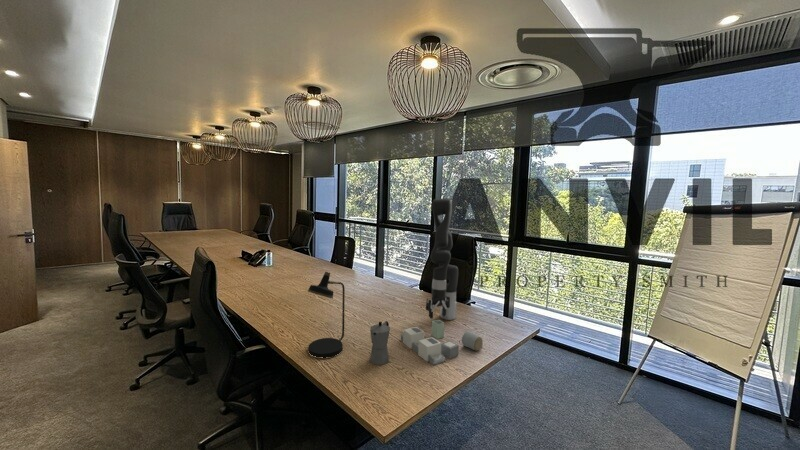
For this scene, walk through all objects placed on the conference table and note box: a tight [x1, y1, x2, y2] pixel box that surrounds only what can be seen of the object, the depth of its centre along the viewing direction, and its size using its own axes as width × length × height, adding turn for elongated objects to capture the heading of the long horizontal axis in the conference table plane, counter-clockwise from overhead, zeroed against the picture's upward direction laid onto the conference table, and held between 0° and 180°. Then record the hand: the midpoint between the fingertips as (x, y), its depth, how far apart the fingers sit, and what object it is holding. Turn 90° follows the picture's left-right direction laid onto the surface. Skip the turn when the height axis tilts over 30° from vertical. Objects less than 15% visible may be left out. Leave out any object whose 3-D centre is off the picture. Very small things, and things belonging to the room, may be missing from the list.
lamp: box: [307, 271, 346, 358], centre depth 150 cm, size 16×22×38 cm
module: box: [431, 319, 445, 340], centre depth 168 cm, size 4×5×8 cm
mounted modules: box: [402, 326, 442, 362], centre depth 153 cm, size 8×20×7 cm, turn 31°
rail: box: [400, 333, 446, 366], centre depth 153 cm, size 7×28×3 cm, turn 31°
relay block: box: [441, 340, 460, 360], centre depth 150 cm, size 6×6×5 cm
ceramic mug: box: [461, 330, 483, 352], centre depth 158 cm, size 11×8×8 cm
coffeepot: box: [369, 320, 391, 366], centre depth 143 cm, size 15×9×18 cm, turn 159°
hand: (437, 316), depth 168 cm, fingers open, 8 cm apart
